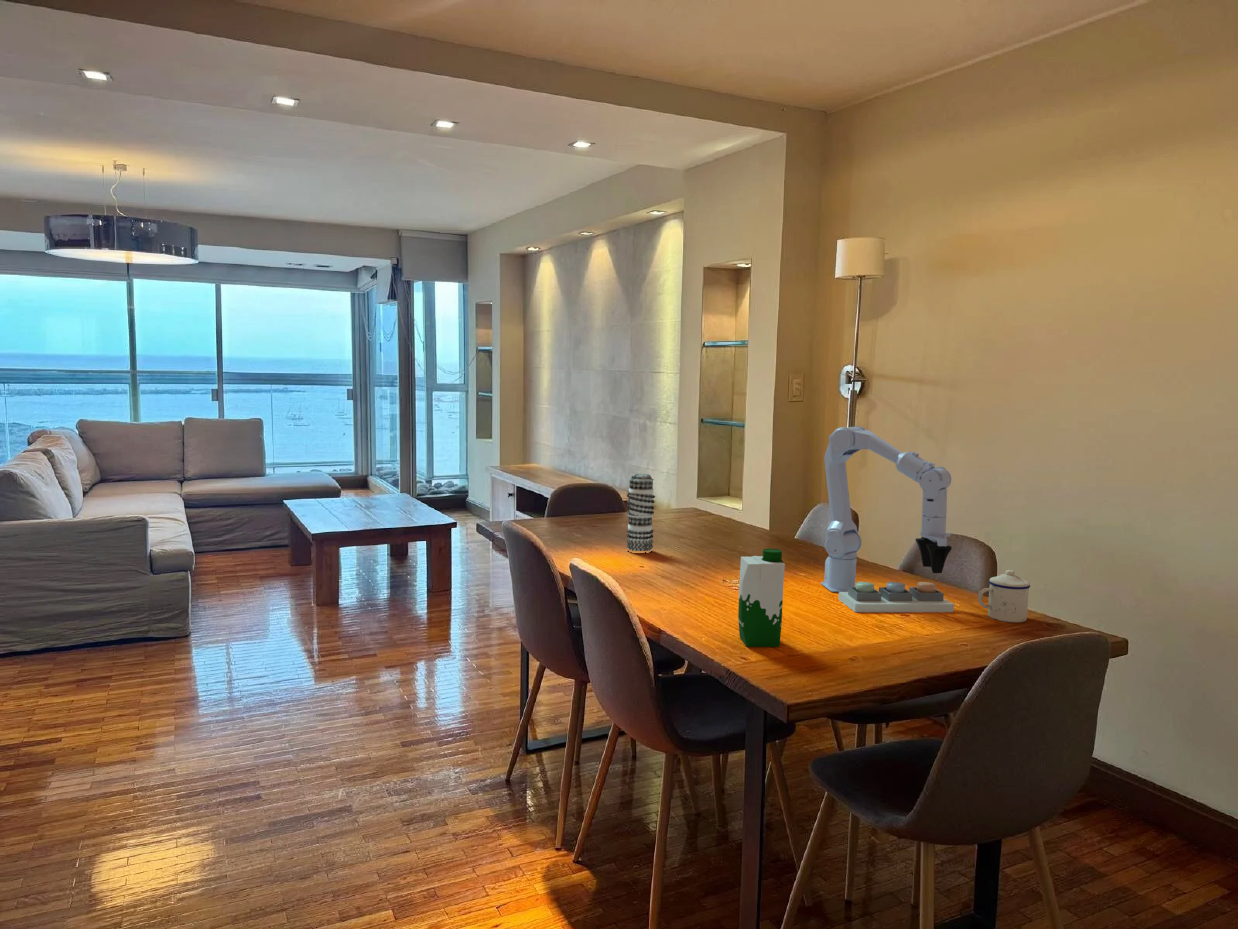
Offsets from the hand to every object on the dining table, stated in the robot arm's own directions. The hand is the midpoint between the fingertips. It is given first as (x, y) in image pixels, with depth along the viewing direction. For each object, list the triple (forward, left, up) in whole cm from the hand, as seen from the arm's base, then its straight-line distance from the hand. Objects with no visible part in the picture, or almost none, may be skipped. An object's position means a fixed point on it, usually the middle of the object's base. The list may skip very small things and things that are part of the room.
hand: (932, 569), depth 214 cm
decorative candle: (-67, -67, -10) cm, 95 cm away
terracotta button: (-1, -1, -6) cm, 6 cm away
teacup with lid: (+10, +13, -10) cm, 19 cm away
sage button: (-1, -17, -6) cm, 18 cm away
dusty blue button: (-1, -9, -6) cm, 11 cm away
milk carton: (+28, -51, -10) cm, 59 cm away
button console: (-1, -9, -10) cm, 13 cm away
